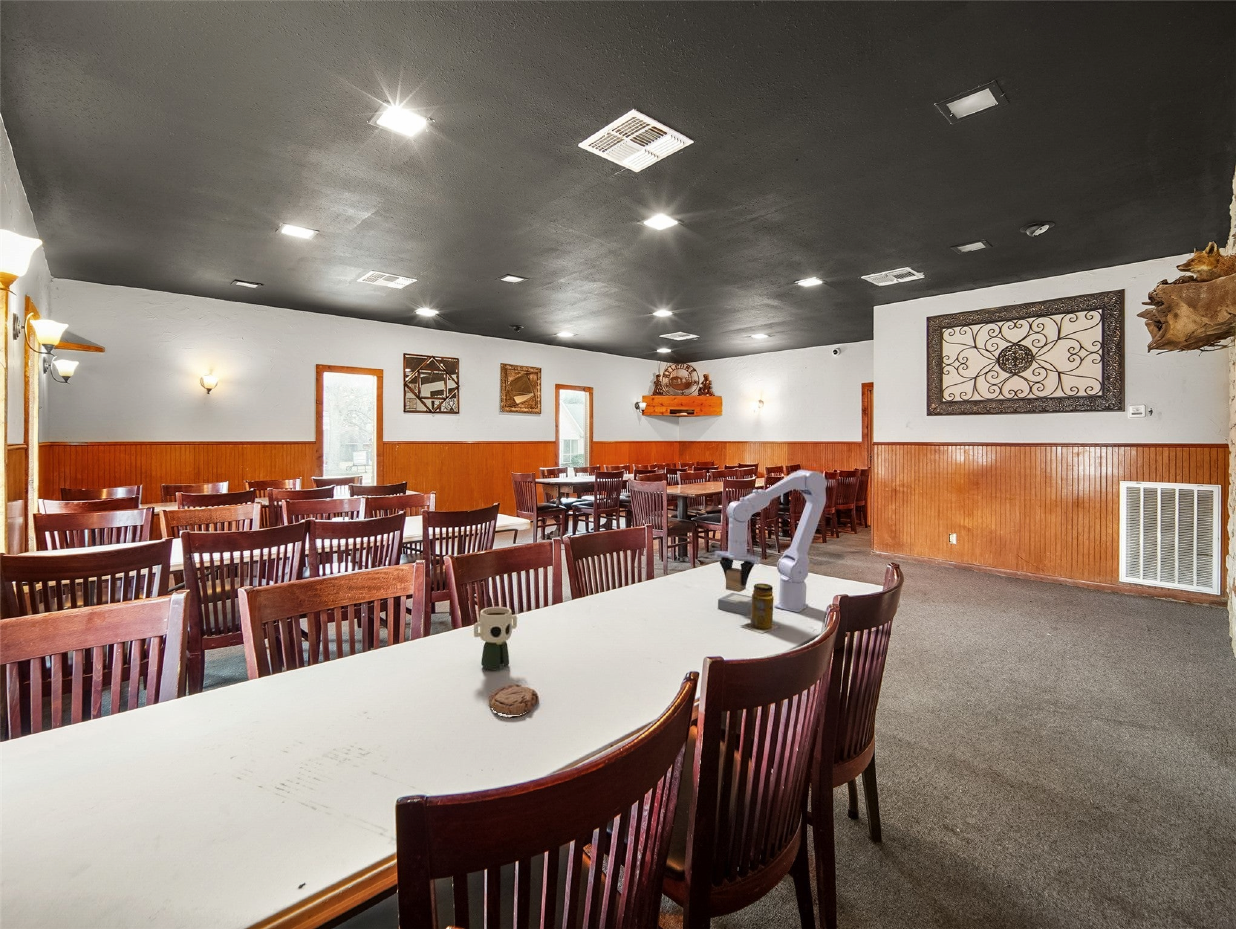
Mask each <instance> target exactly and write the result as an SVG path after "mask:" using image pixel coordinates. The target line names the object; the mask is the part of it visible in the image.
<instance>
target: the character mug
mask: <svg viewBox="0 0 1236 929" xmlns="http://www.w3.org/2000/svg"><path fill="white" fill-rule="evenodd" d="M512 613H513V612H512V609H511V608H510V607H505V606H504V607H503V606H491V607H486V608H483V609H481V610H480V612H479V622H476V623H474V625H473V636H474V638H480V640H482V641H484V644H483V646H482V647H483V648H482V655H481V663H480V664H481V666H482V667H483V668H484V669H486V670H492V671H495V670H500V669H501V666H502V665H503V669H506V668H507V667H508V666H509V665H510V658H509V657H510V655H509V647H508V643H507V641H508V640H509V639H510V638H511V636H512V632H513V630H514V629H516V628H517V627H518V626H517V624H518V617H517V614H512Z"/></svg>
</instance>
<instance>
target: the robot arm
mask: <svg viewBox="0 0 1236 929" xmlns="http://www.w3.org/2000/svg"><path fill="white" fill-rule="evenodd" d="M827 484H828V482H827V479H826V477H825V476H824V474H822V473H821V472H820V471H812V470H811V471H810V470H806V469H798V470H797V471H795V472H792V473H790V474H789V475H788V476H786V477H784V478H783V479H782V480H779V481H778V482H776V483H775V484H773V485H772V486H770V487H769V488H767V489H765V490H764V489H761V488H760V489H756V488H755V489H753V490H752V491H751V492H752V493H750V494H747V495H746V496H744V497H743V496H742V497H740V498H739V501H738V500H733V501H732V502H730V503H729V504H728V506H727V508H726V509H725V514H726V516H727V517H728V538H727V539H728V541H727V547H728V548H727V550H726V551H723V550H716V551H714V558H715V559H720V560H719V564H720V566H721V568H722V571H723V573H724V577H725V579H726V570H728V569H731V568H733V564H734V561H738V562H742V563H740V569H741V571H742V580H741V583H742V586H745V585H746V586H747V584H748V579H749V577H750V576H749V575H750V573H751V572H752V570H753V569H754V566H755V565H760V564H761V559H762V558H761V556H755V555H752V554H749V553H748V529H749V528H748V527H749V526H748V525H749V524H748V521H749V520H750V519H751V517H752V515H753V514H756V513H757V512H759V511H761V510H763V509H765V508H766V507H768V506H769V505H770V503H771V500H772V499H775V498H778V497H779V496H781V495H783V494H785V493H787V492H790V491H792V490H797V491H799V492H800V493H801V494H802V495H803V497H804V499H805V501H806V503H805V506H804V509H803V512H802V514H801V517H800V520H799V521H798V522H799V523H797V524H798V525H797V528H796V530H795V532H794V536H793V538H792V541H791V543H790V547H789V548H787V549H786V550H785V551H784V552H783V554H782V555H781V557H780V558H779V559H778V561H777V564H776V569H777V572H778V573H779V578H780V579H779V593H778V594H779V597H778V598H779V599H778V603H776V604H775V605H773V608H777V609H782V610H785V611H789V612H790V611H791V612H796V613H800V612H802V611H803V610H804V609H805V608H807V607H809V603H806V602H807V583H806V582H805V580H806V579H807V578H808V576H809V572H810V570H809V565H810V562H811V561H810V559H809V555H808V552H809V549H810V547H811V544H812V542H813V539H814V536H815V534H816V533H815V532H816V530H817V527H818V526H819V525H818V524H819V521H820V520H821V516H822V514H823V510H824V508H825V505H826V501H827V495H826V494H827V493H826V488H827Z"/></svg>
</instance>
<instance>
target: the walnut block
mask: <svg viewBox="0 0 1236 929" xmlns="http://www.w3.org/2000/svg"><path fill="white" fill-rule="evenodd" d="M741 580H742V571H741V568H736V567H732V568H731V569H728V570H726V578H725V590H727V591H730V592H731V591H732V592H735V593H736V592H737V593H741V592H743V591H745V590H746V589H747V584H746V585H745V586H742V583H741Z"/></svg>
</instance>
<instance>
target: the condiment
mask: <svg viewBox="0 0 1236 929" xmlns="http://www.w3.org/2000/svg"><path fill="white" fill-rule="evenodd" d="M752 592H753V593H752V594H751V597H752V605H751V614H750V622H747V623H745V624H741V625H740V627H742V628H745V629H747V630H751V631H752V632H756V633H761V634H763V633H766V632H768V631H772V630H774V629H776V628H778V627H779V626H778V625H774V624H773V621H774V620H773V615H774V595H773V586H772V585H771V584H768V583H755V584H754V585H753V590H752Z"/></svg>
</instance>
